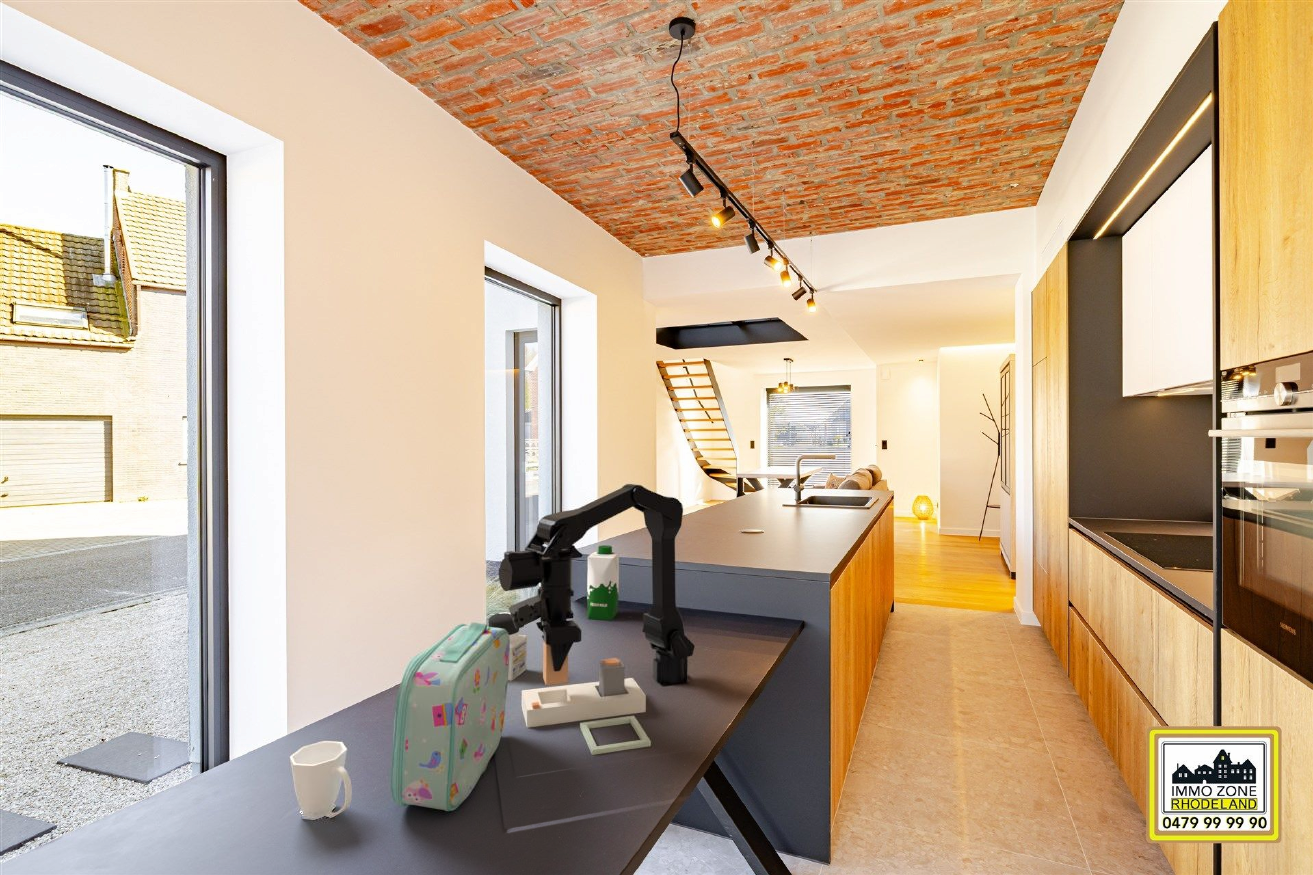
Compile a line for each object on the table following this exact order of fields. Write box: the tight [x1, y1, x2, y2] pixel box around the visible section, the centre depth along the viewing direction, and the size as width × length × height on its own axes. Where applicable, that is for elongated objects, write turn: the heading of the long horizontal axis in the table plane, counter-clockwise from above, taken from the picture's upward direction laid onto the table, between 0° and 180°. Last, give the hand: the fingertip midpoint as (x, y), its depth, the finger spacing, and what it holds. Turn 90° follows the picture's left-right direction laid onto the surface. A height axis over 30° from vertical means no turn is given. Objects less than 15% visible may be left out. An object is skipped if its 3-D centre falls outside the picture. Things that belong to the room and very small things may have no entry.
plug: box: [542, 639, 569, 687], centre depth 114 cm, size 4×4×9 cm
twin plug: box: [598, 657, 626, 697], centre depth 118 cm, size 4×4×9 cm
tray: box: [579, 715, 652, 756], centre depth 106 cm, size 10×10×1 cm
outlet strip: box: [521, 677, 647, 728], centre depth 116 cm, size 22×9×4 cm, turn 108°
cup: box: [289, 740, 353, 819], centre depth 84 cm, size 7×10×8 cm
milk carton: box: [586, 544, 620, 621], centre depth 179 cm, size 9×9×20 cm
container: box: [487, 611, 528, 681], centre depth 134 cm, size 8×8×13 cm
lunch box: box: [390, 622, 510, 812], centre depth 95 cm, size 27×10×21 cm, turn 178°
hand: (555, 666), depth 114 cm, fingers closed on plug, 4 cm apart
